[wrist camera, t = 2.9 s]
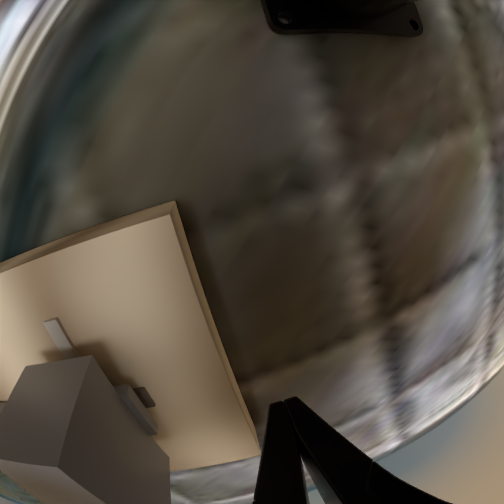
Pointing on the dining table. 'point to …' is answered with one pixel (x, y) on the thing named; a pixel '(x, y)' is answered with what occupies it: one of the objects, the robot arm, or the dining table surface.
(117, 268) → the fader console
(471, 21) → the dining table surface
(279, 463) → the robot arm
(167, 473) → the fader tab
